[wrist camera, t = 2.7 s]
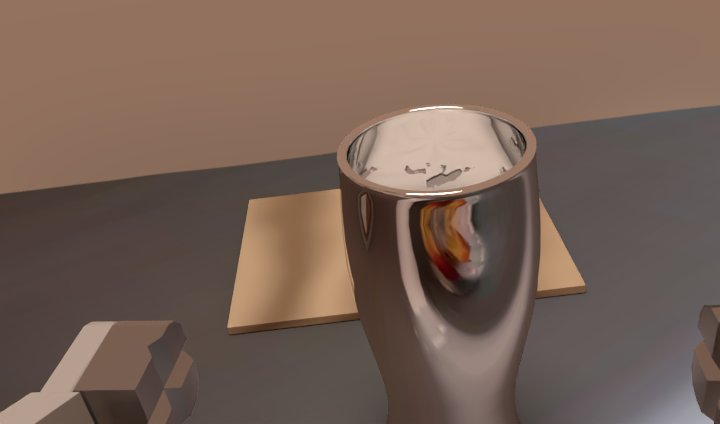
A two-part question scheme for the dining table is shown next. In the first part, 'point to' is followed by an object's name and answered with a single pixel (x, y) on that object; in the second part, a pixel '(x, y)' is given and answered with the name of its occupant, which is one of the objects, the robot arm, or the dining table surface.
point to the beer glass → (443, 256)
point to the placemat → (330, 264)
